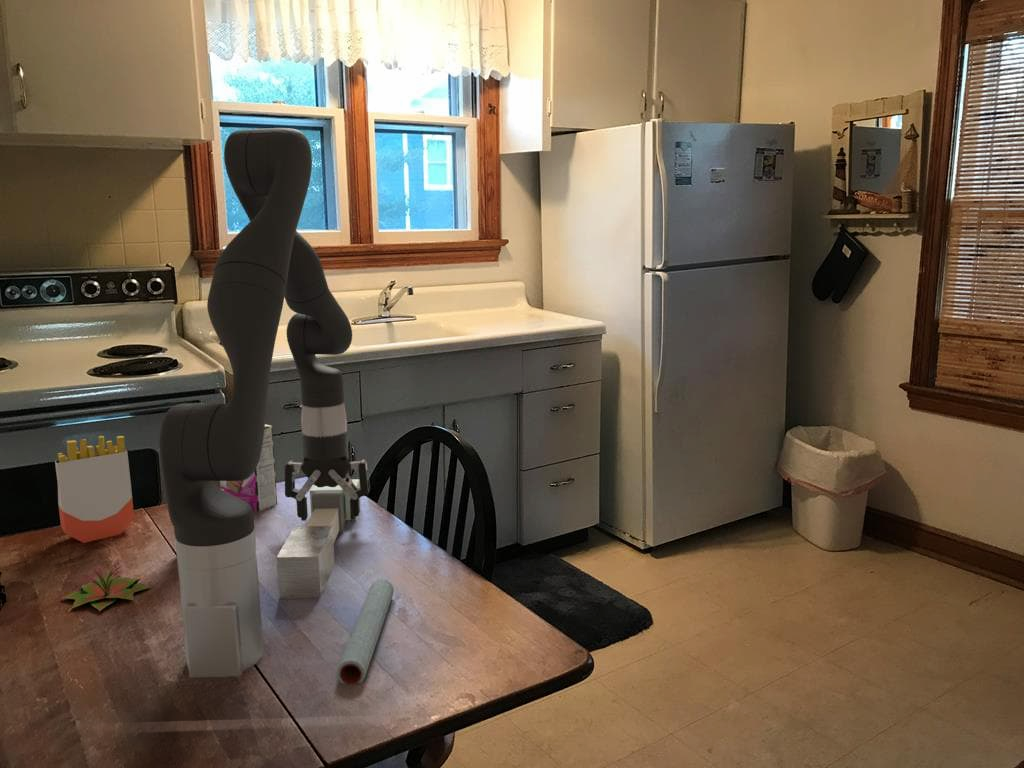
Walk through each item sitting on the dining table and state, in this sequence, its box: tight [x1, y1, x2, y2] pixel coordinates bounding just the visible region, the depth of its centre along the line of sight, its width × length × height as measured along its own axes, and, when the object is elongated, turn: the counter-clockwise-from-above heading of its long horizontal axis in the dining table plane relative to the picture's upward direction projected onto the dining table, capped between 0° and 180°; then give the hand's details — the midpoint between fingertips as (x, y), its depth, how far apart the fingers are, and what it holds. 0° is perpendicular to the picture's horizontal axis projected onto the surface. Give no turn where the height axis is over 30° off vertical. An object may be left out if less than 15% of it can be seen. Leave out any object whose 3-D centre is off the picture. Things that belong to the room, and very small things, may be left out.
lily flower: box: [60, 562, 152, 612], centre depth 123 cm, size 12×12×5 cm
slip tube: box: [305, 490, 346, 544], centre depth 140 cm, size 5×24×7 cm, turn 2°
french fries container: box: [54, 435, 135, 544], centre depth 143 cm, size 5×11×18 cm, turn 128°
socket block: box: [309, 478, 362, 521], centre depth 152 cm, size 8×6×6 cm
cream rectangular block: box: [276, 525, 335, 600], centre depth 126 cm, size 6×12×6 cm, turn 2°
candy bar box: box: [218, 423, 278, 512], centre depth 158 cm, size 11×5×16 cm, turn 58°
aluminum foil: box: [336, 578, 395, 685], centre depth 110 cm, size 23×7×3 cm, turn 179°
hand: (329, 518), depth 145 cm, fingers open, 8 cm apart
